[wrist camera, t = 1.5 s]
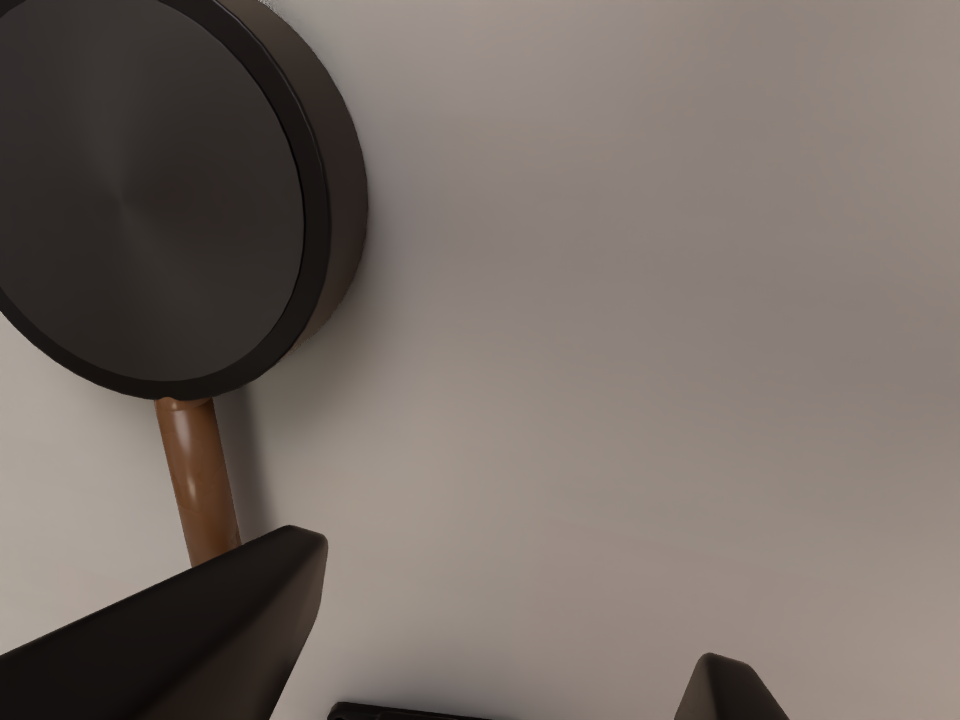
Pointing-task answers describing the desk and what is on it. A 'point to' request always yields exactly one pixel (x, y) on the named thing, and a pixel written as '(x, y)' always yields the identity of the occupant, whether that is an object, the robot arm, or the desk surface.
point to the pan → (173, 209)
